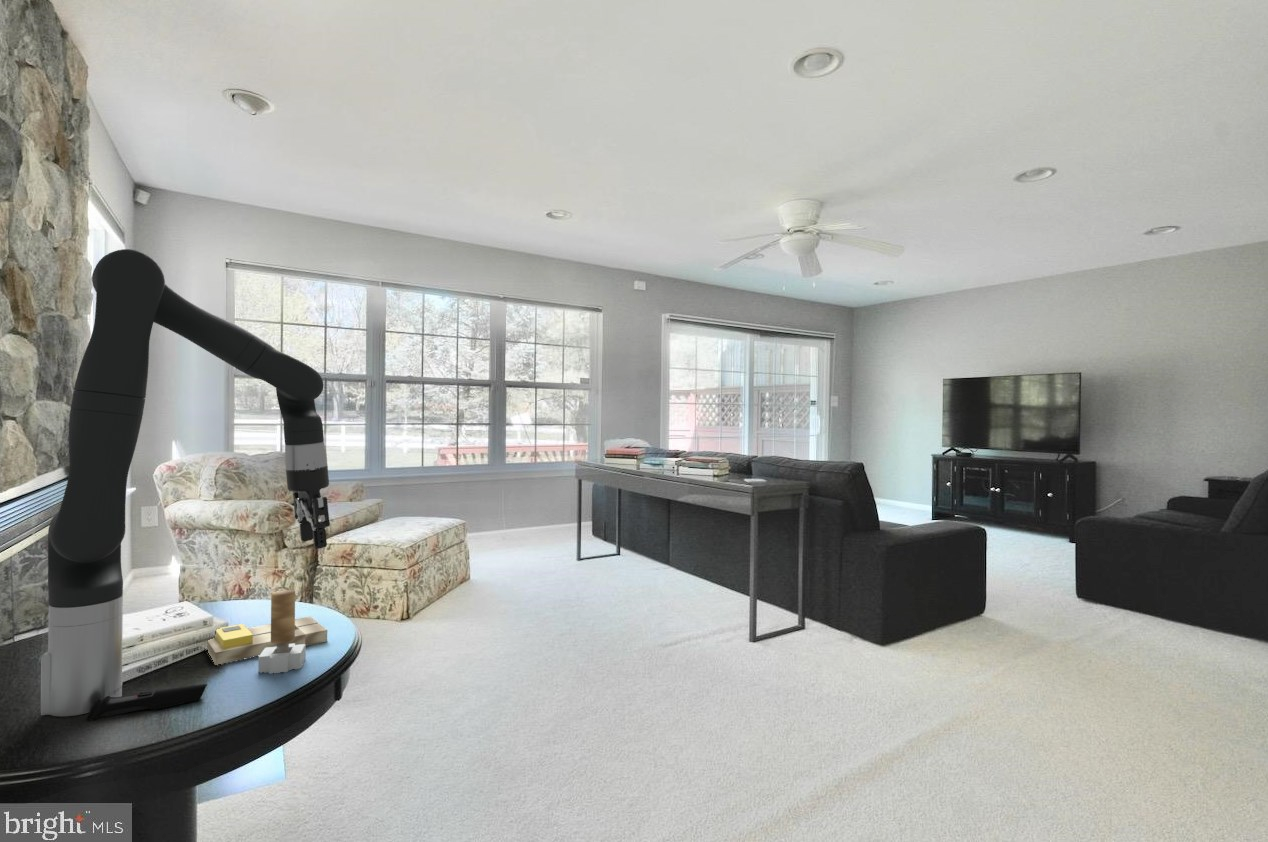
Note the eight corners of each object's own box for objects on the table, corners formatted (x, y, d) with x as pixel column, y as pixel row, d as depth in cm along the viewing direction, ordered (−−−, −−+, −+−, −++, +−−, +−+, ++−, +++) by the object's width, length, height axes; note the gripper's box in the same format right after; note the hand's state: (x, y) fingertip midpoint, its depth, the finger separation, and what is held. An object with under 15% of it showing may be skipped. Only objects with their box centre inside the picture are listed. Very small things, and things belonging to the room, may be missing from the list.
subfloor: (215, 665, 120) (215, 652, 120) (204, 648, 129) (204, 636, 129) (327, 641, 133) (327, 629, 133) (310, 627, 142) (310, 616, 142)
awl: (268, 671, 118) (268, 596, 118) (273, 663, 121) (274, 590, 121) (292, 668, 119) (292, 594, 119) (296, 661, 123) (297, 589, 123)
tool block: (256, 675, 116) (257, 658, 116) (266, 661, 122) (266, 645, 122) (299, 670, 118) (299, 654, 118) (306, 657, 124) (306, 642, 124)
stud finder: (223, 648, 122) (223, 639, 122) (214, 636, 129) (214, 628, 129) (252, 642, 125) (252, 634, 125) (242, 631, 132) (242, 623, 132)
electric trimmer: (204, 706, 104) (205, 687, 104) (84, 724, 97) (85, 703, 97) (208, 697, 107) (208, 679, 108) (92, 714, 101) (93, 694, 101)
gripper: (276, 465, 130) (283, 542, 131) (297, 471, 119) (304, 554, 121) (315, 460, 135) (321, 534, 136) (338, 465, 124) (345, 546, 126)
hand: (313, 544), depth 128 cm, fingers open, 8 cm apart
